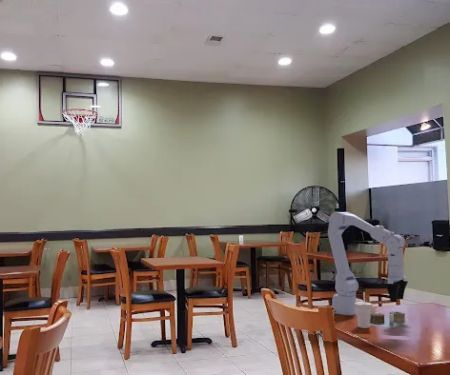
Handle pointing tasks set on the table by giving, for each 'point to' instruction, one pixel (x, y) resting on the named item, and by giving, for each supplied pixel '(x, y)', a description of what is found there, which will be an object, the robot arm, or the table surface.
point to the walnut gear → (377, 318)
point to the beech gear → (398, 316)
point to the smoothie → (363, 313)
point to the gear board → (388, 322)
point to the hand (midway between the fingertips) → (396, 300)
